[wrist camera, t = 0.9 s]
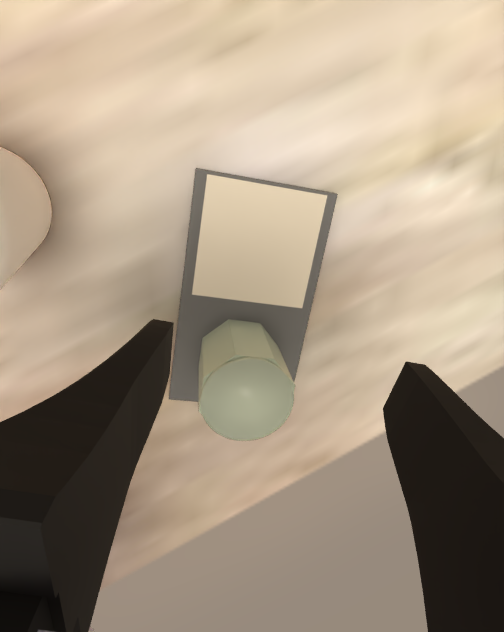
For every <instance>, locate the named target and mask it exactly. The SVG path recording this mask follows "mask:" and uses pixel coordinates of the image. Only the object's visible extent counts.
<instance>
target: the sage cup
mask: <svg viewBox="0 0 504 632" xmlns="http://www.w3.org/2000/svg"><path fill="white" fill-rule="evenodd" d="M294 389H295V384H294V382H293V379H292V377H291V375H290V373H289V370H288V368H287V366H286V363H285V361H284V359H283V357H282V354H281V352H280V350H279V347H278V345H277V344H276V343H275V342H274V340H273V339H272V338H271V336H270V335H269V334H268V332H267V331H266V330H265V329H264V327H263V326H262V325H261V323H256V322H248V321H239V320H231V319H229V320H227V321H225V322H224V323H223V324H221V325H220V326H218V327H217V328H216V329H214V330H213V331H211V332H210V333H209V334H207V335H206V336H204V337H203V338H202V345H201V352H200V359H199V412H200V413H201V414H202V415H203V417H204V419H205V421H206V423H207V424H208V425H209V426H210V428H211V429H213V430H214V431H215V432H216V433H218V434H219V435H221V436H223V437H225V438H228V439H232V440H237V441H250V440H256V439H260V438H263V437H265V436H267V435H269V434H271V433H273V432H274V431H276V430H277V429H278V428H279V427H280V426H282V425H283V423H284V422H285V421H286V420H287V418H288V416H289V415H290V412H291V410H292V407H293V402H294Z"/></svg>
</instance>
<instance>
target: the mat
mask: <svg viewBox="0 0 504 632" xmlns="http://www.w3.org/2000/svg"><path fill="white" fill-rule="evenodd" d="M337 195H338V194H335V193H330V192H324V191H319V190H313V189H308V188H302V187H297V186H291V185H285V184H280V183H274V182H269V181H263V180H258V179H252V178H247V177H241V176H235V175H230V174H224V173H219V172H213V171H208V170H202V169H196V173H195V181H194V189H193V198H192V206H191V215H190V223H189V232H188V240H187V249H186V257H185V266H184V274H183V283H182V291H181V300H180V308H179V317H178V325H177V334H176V342H175V351H174V359H173V368H172V376H171V385H170V393H169V399H171V400H183V401H196V402H199V359H200V352H201V345H202V338H203V337H204V336H206V335H207V334H209V333H210V332H211V331H213V330H214V329H216V328H217V327H218V326H220V325H221V324H223V323H224V322H225V321H227V320H229V319H231V320H239V321H248V322H256V323H261V325H262V326H263V327H264V329H265V330H266V331H267V332H268V334H269V335H270V336H271V338H272V339H273V340H274V342H275V343H276V344H277V345H278V347H279V350H280V352H281V354H282V357H283V359H284V361H285V363H286V366H287V368H288V370H289V373H290V375H291V377H292V379H293V382H294V380H295V376H296V372H297V367H298V363H299V359H300V354H301V350H302V346H303V341H304V337H305V333H306V328H307V324H308V320H309V315H310V311H311V307H312V302H313V298H314V294H315V290H316V285H317V281H318V277H319V272H320V268H321V264H322V259H323V255H324V251H325V246H326V242H327V238H328V233H329V229H330V225H331V220H332V216H333V212H334V207H335V203H336V199H337Z"/></svg>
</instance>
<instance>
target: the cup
mask: <svg viewBox="0 0 504 632" xmlns="http://www.w3.org/2000/svg"><path fill="white" fill-rule="evenodd" d="M51 219H52V208H51V201H50V197H49V194H48V192H47V189H46V187H45V185H44V183H43V181H42V180H41V178H40V177H39V175H38V174H37V173H36V172H35V170H34V169H33V168H32V167H31V166H30V165H29V164H28V163H27V162H26V161H24V160H23V159H22V158H20V157H19V156H17V155H16V154H14V153H12V152H10V151H8V150H6V149H4V148H1V147H0V290H1V289H2V287H3V286H4V285H5V284H6V283H7V282H8V281H9V279H10V278H11V277H12V276H13V275H14V274H15V273H16V271H17V270H18V269H19V268H20V267H21V266H22V265H23V264H24V262H25V261H26V260H27V259H28V258H29V257H30V255H31V254H32V253H33V252H34V251H35V250H36V249H37V247H38V246H39V245H40V244H41V243H42V242H43V240H44V239H45V237H46V235H47V233H48V231H49V228H50V225H51Z"/></svg>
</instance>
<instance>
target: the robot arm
mask: <svg viewBox="0 0 504 632" xmlns="http://www.w3.org/2000/svg"><path fill="white" fill-rule="evenodd" d="M172 336H173V322H167V321H161V320H155V319H153V320H151V321H150V322H149V323H148V324H147V325H146V326H145V327H144V328H142V329H141V330H140V331H139V332H138V333H137V334H136V335H135V336H134V337H133V338H132V339H131V340H129V341H128V342H127V343H126V344H125V345H124V346H123V347H121V348H120V349H119V350H118V351H117V352H115V353H114V354H113V355H112V356H111V357H109V358H108V359H107V360H106V361H104V362H103V363H102V364H100V365H99V366H98V367H96V368H95V369H93V370H92V371H91V372H89V373H88V374H87V375H85V376H84V377H82V378H81V379H79V380H78V381H76V382H75V383H73V384H72V385H70V386H69V387H67V388H65V389H64V390H62V391H61V392H59V393H57V394H56V395H54V396H52V397H50V398H48V399H47V400H45V401H43V402H41V403H39V404H37V405H35V406H33V407H31V408H29V409H27V410H25V411H24V412H22V413H19V414H17V415H15V416H13V417H11V418H9V419H6V420H4V421H2V422H0V632H94V629H93V628H92V627H91V626H90V624H91V620H92V616H93V612H94V609H95V605H96V601H97V597H98V593H99V590H100V586H101V582H102V579H103V575H104V572H105V568H106V564H107V561H108V557H109V553H110V550H111V546H112V543H113V539H114V536H115V532H116V529H117V525H118V522H119V518H120V515H121V512H122V508H123V505H124V501H125V498H126V495H127V491H128V488H129V485H130V481H131V478H132V476H133V473H134V470H135V467H136V465H137V462H138V460H139V457H140V455H141V453H142V450H143V448H144V445H145V443H146V440H147V438H148V436H149V433H150V431H151V428H152V426H153V423H154V421H155V418H156V416H157V413H158V411H159V408H160V406H161V403H162V400H163V396H164V393H165V389H166V385H167V382H168V378H169V374H170V362H171V349H172ZM383 412H384V420H385V427H386V434H387V439H388V443H389V446H390V450H391V453H392V457H393V460H394V464H395V467H396V470H397V474H398V477H399V481H400V484H401V487H402V491H403V494H404V497H405V501H406V504H407V507H408V511H409V516H410V520H411V524H412V529H413V534H414V540H415V546H416V551H417V556H418V562H419V568H420V575H421V582H422V588H423V595H424V603H425V611H426V619H427V627H428V632H504V438H503V437H502V436H500V435H499V434H498V433H497V432H496V431H495V430H493V429H492V428H491V427H490V426H489V425H488V424H487V423H486V422H485V421H484V420H483V419H482V418H480V417H479V416H478V415H477V414H476V413H475V412H474V411H473V410H472V409H471V408H470V407H469V406H468V405H467V404H466V403H465V402H464V401H463V400H462V399H461V398H460V397H459V396H458V395H457V394H456V393H455V392H454V391H453V390H452V389H451V388H450V387H448V386H447V385H446V384H445V383H444V382H443V381H442V380H441V379H440V378H439V377H438V376H437V375H436V374H435V373H434V372H433V371H432V370H431V369H429V368H428V367H427V366H426V365H423V364H417V363H411V362H405V365H404V367H403V369H402V371H401V373H400V375H399V377H398V379H397V381H396V383H395V385H394V387H393V389H392V391H391V393H390V395H389V397H388V399H387V401H386V403H385V405H384V407H383Z"/></svg>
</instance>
